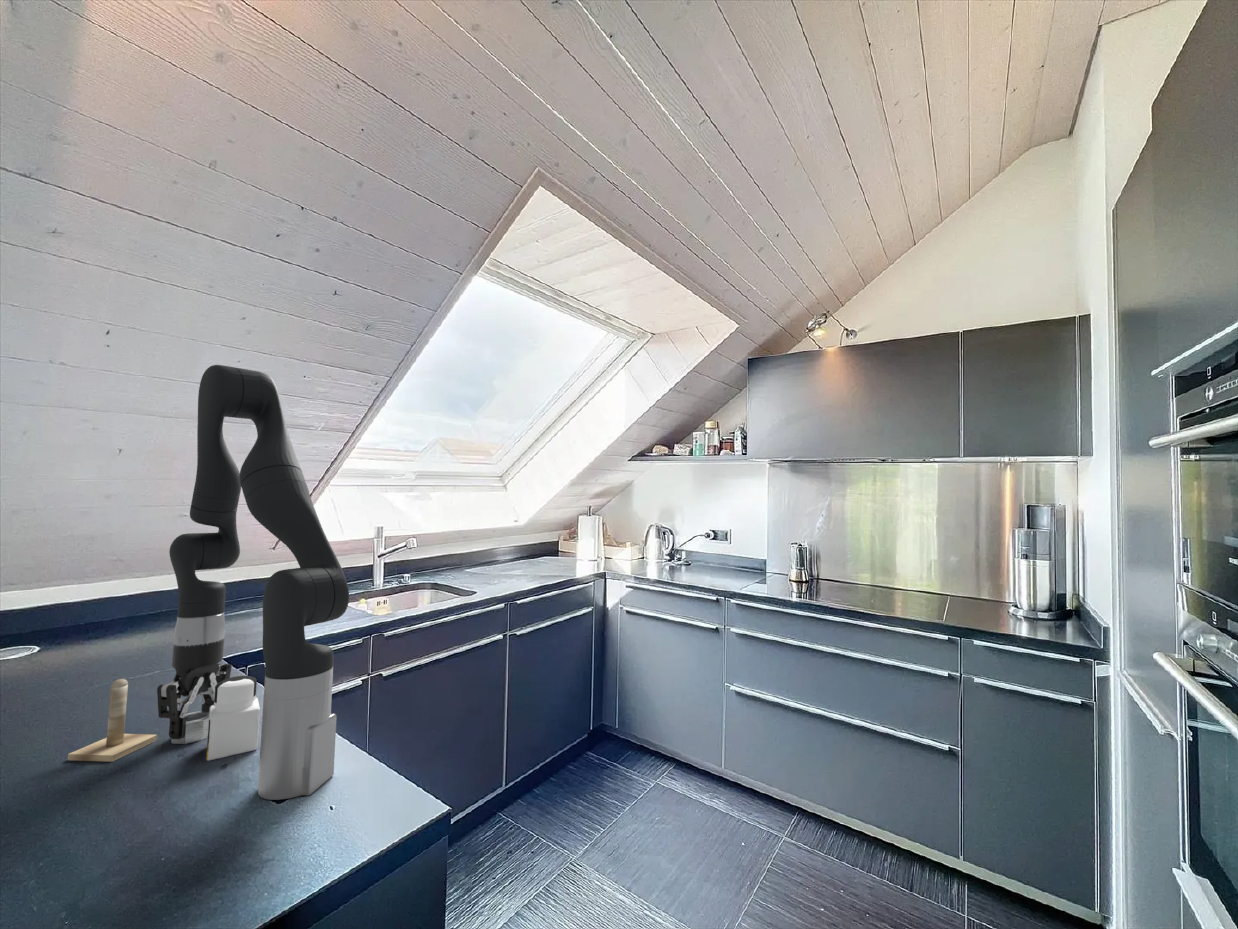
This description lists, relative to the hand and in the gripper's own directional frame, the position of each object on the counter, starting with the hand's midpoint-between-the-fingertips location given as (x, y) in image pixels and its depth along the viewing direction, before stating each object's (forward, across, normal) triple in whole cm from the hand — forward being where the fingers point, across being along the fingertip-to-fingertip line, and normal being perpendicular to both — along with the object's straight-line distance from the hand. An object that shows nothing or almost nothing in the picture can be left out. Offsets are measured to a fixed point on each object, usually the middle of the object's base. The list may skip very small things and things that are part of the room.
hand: (193, 730), depth 97 cm
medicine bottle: (+1, -4, -11) cm, 12 cm away
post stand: (+1, -6, +9) cm, 11 cm away
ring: (+1, 0, 0) cm, 1 cm away
